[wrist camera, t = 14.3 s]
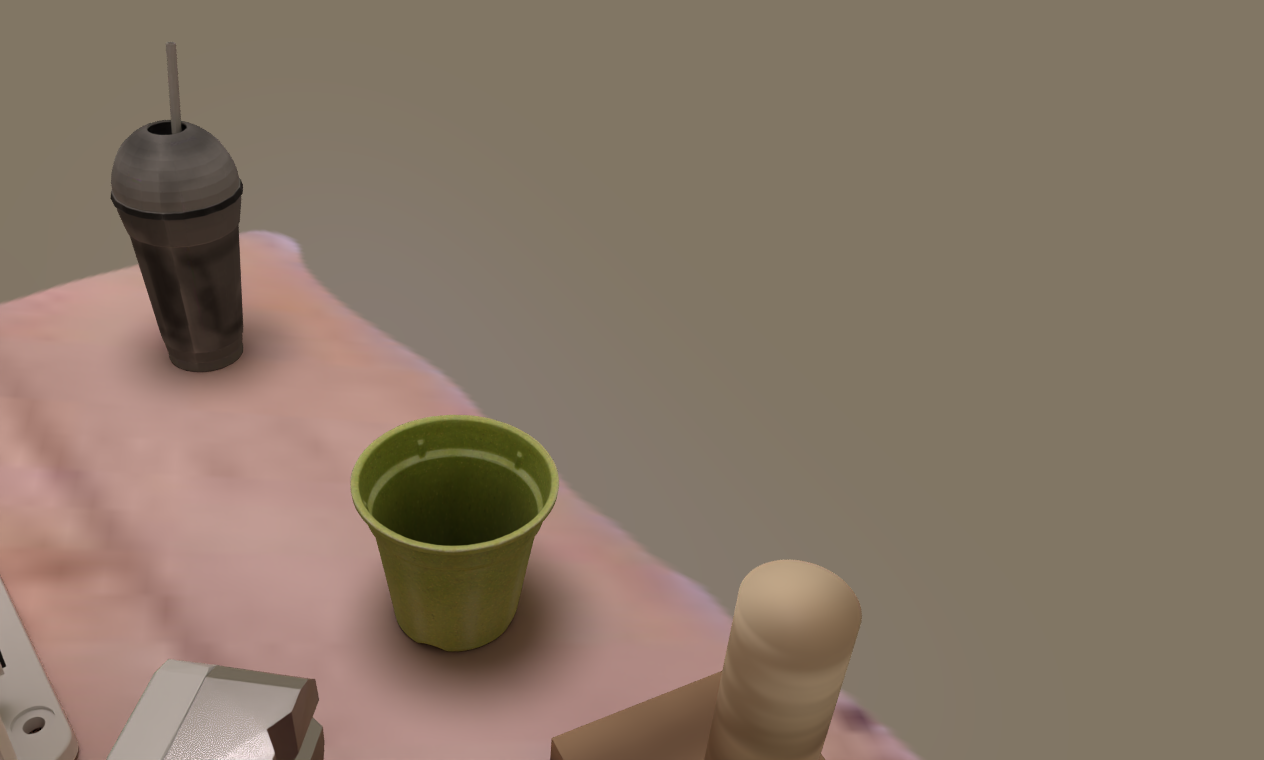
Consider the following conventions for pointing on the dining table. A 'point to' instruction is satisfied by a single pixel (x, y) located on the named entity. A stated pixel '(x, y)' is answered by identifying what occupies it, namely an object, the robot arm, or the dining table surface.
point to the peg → (783, 663)
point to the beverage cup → (184, 233)
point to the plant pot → (454, 522)
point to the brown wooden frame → (648, 728)
